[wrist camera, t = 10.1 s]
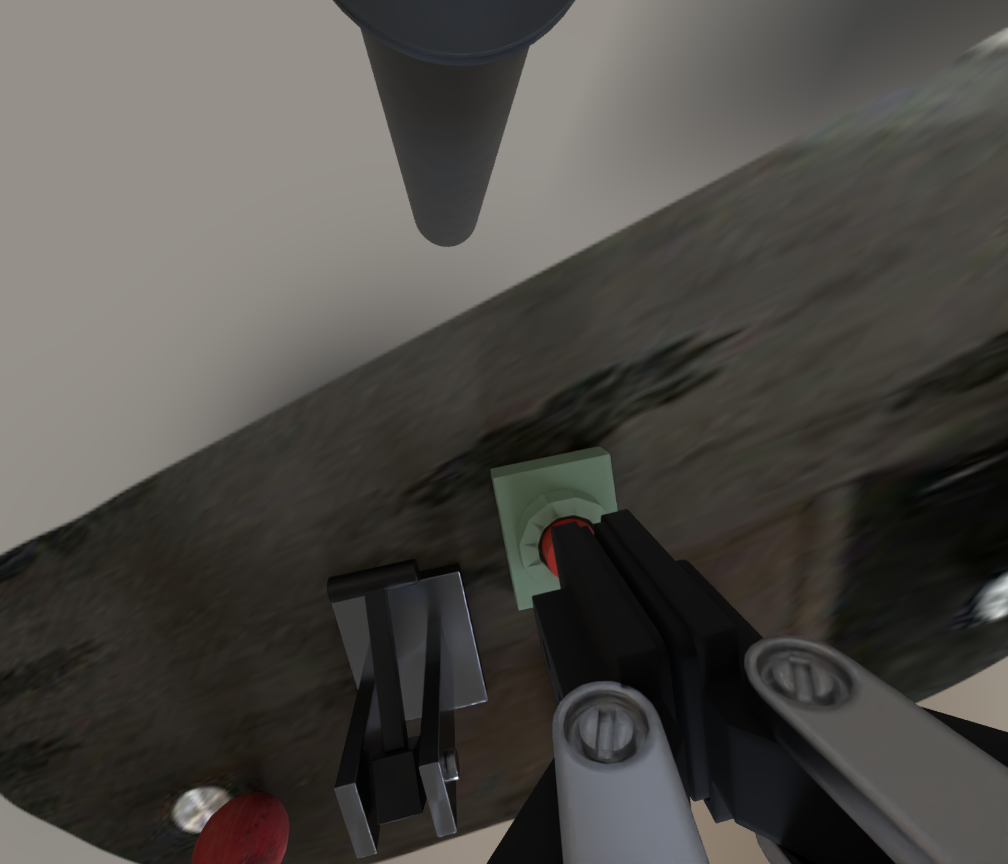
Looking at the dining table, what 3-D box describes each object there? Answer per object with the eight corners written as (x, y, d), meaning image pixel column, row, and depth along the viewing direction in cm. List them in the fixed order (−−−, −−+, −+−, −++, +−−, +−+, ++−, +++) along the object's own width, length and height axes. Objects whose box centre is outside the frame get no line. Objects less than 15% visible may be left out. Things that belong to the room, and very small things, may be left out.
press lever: (336, 577, 29) (322, 577, 26) (418, 559, 29) (411, 557, 27) (362, 810, 25) (348, 833, 23) (454, 786, 26) (450, 807, 23)
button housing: (489, 468, 33) (495, 487, 29) (599, 445, 34) (619, 460, 30) (514, 593, 35) (522, 626, 32) (616, 570, 36) (637, 599, 32)
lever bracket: (334, 590, 34) (269, 743, 21) (458, 562, 34) (466, 695, 22) (371, 716, 36) (333, 919, 24) (486, 688, 37) (507, 870, 24)
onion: (284, 753, 36) (239, 869, 28) (313, 808, 37) (279, 935, 30) (209, 779, 36) (143, 905, 28) (241, 835, 37) (187, 969, 29)
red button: (537, 524, 30) (542, 535, 29) (591, 512, 31) (599, 523, 29) (546, 573, 31) (551, 588, 30) (598, 562, 32) (607, 575, 30)
